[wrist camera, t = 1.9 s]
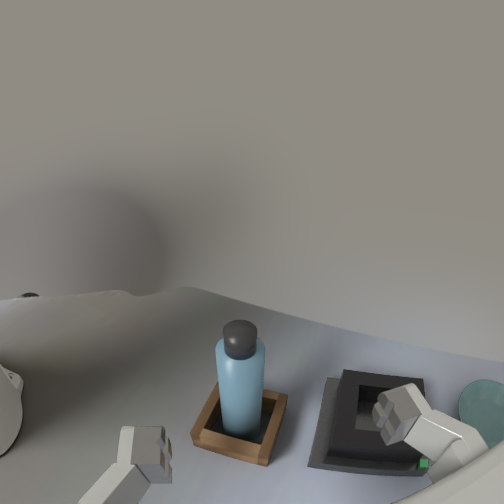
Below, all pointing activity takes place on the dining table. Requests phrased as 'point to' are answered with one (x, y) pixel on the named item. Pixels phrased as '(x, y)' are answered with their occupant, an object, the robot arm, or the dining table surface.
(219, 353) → the blue bottle
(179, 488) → the dining table surface
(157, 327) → the dining table surface
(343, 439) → the port
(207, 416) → the wooden square frame
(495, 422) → the saucer
